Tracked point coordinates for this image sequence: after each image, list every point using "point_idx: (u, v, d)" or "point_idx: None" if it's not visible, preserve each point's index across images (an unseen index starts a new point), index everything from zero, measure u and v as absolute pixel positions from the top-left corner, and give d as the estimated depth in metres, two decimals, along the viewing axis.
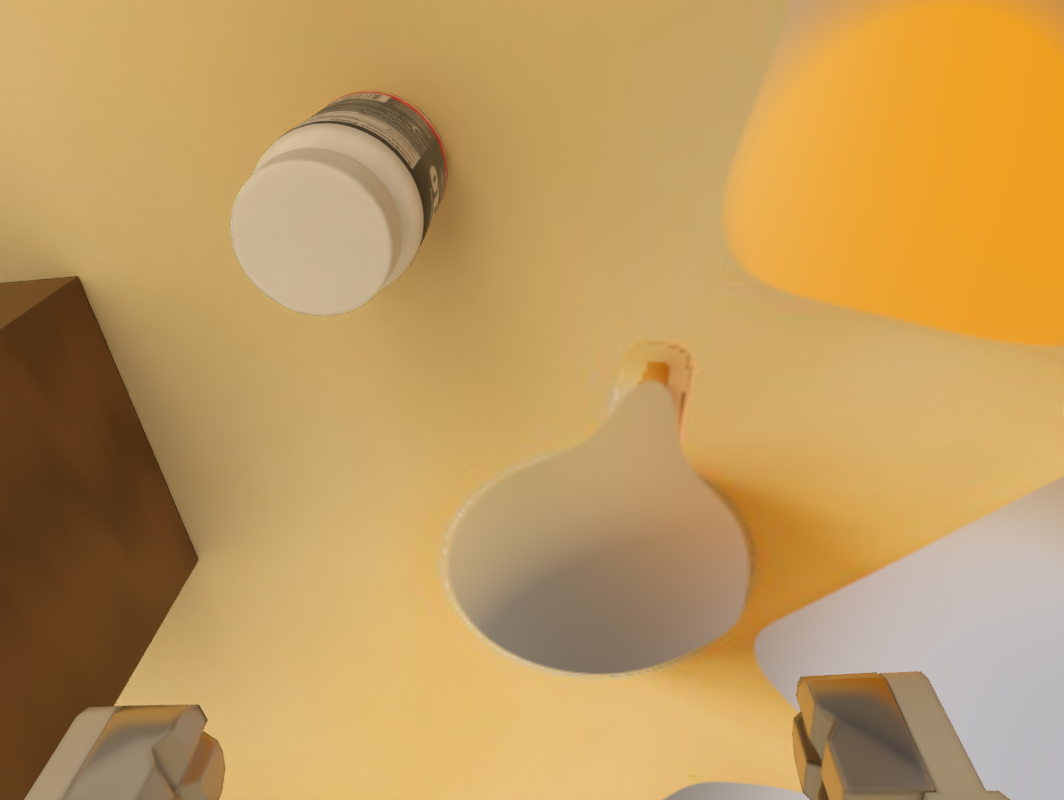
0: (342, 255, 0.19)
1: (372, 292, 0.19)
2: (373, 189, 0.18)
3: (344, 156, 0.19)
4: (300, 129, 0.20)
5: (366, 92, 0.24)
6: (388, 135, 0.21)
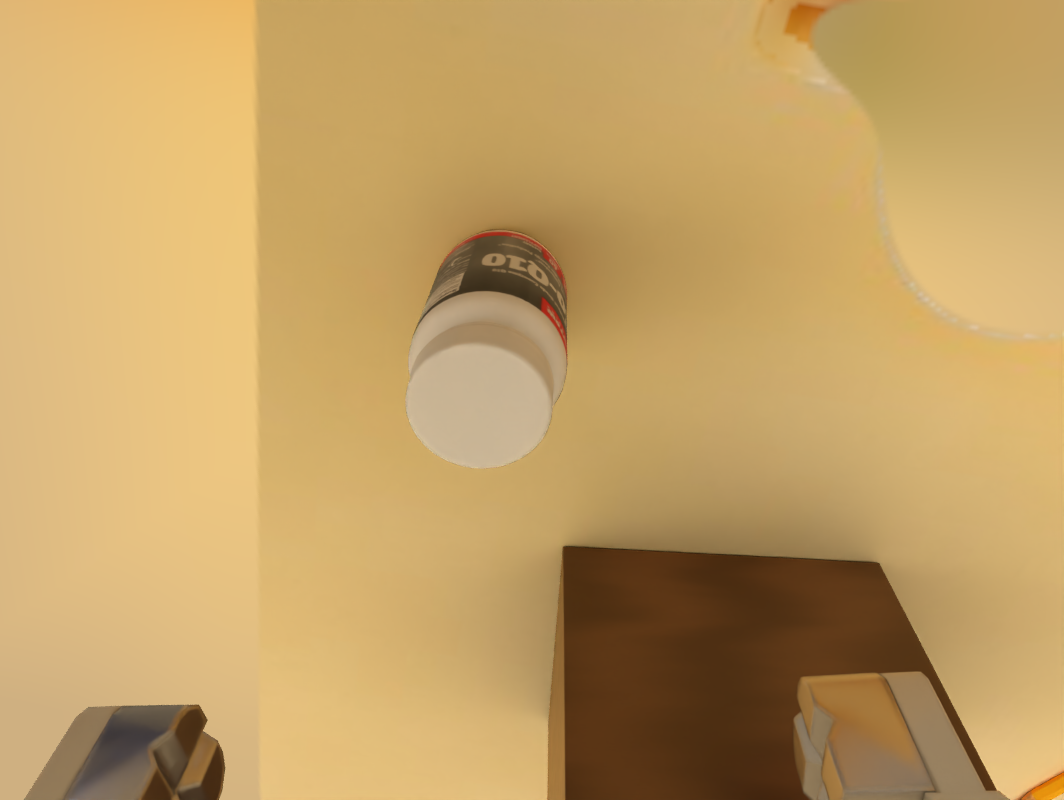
0: (493, 388, 0.20)
1: (532, 372, 0.20)
2: (440, 344, 0.20)
3: (417, 356, 0.21)
4: None
5: None
6: (432, 300, 0.23)
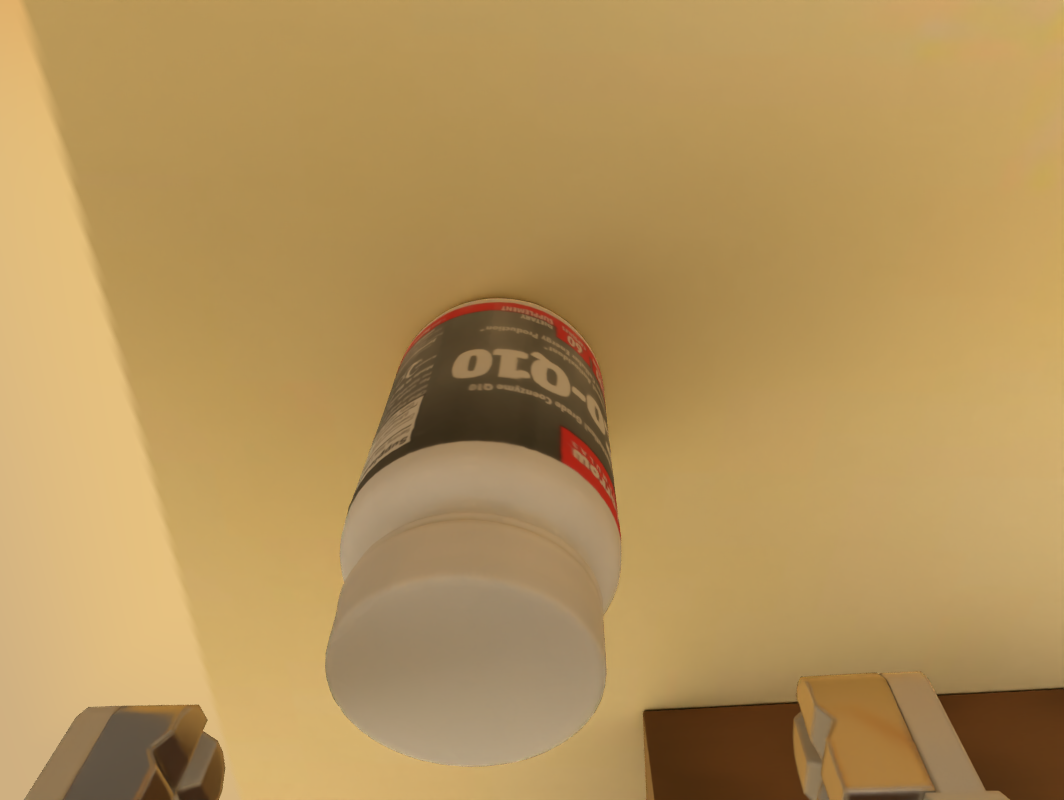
0: (485, 647, 0.10)
1: (558, 613, 0.10)
2: (372, 577, 0.10)
3: (342, 588, 0.11)
4: None
5: None
6: (372, 455, 0.13)
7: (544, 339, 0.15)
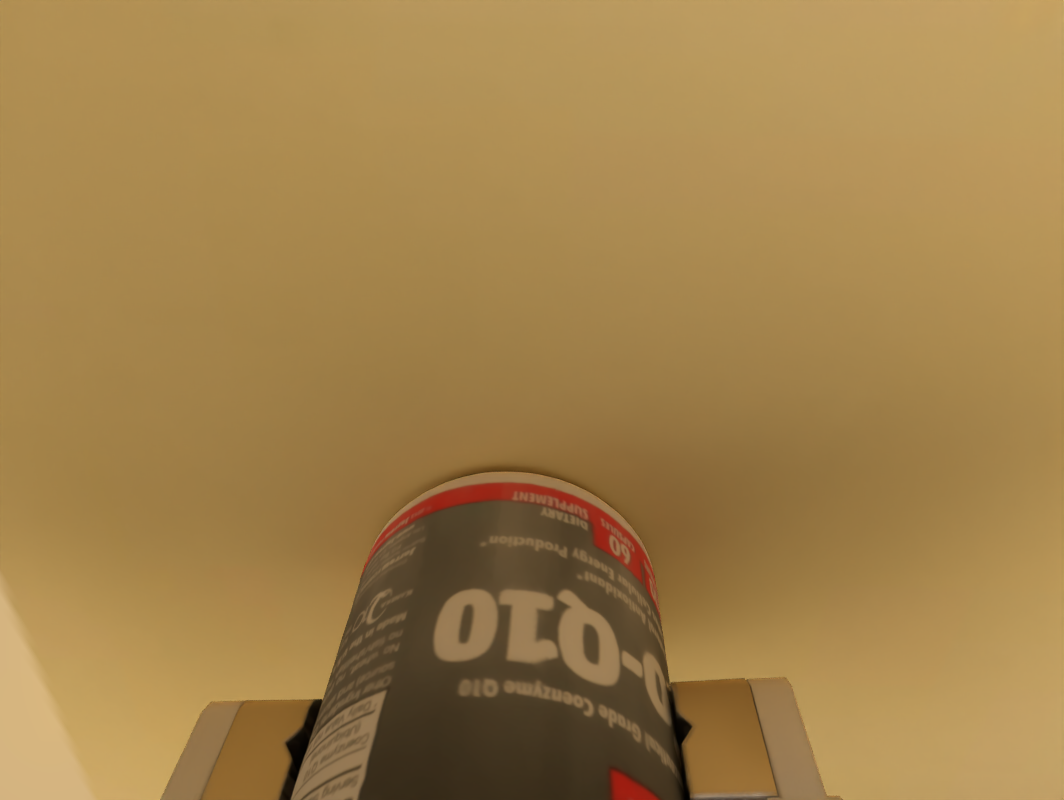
0: None
1: None
2: None
3: None
4: None
5: None
6: None
7: (576, 556, 0.10)
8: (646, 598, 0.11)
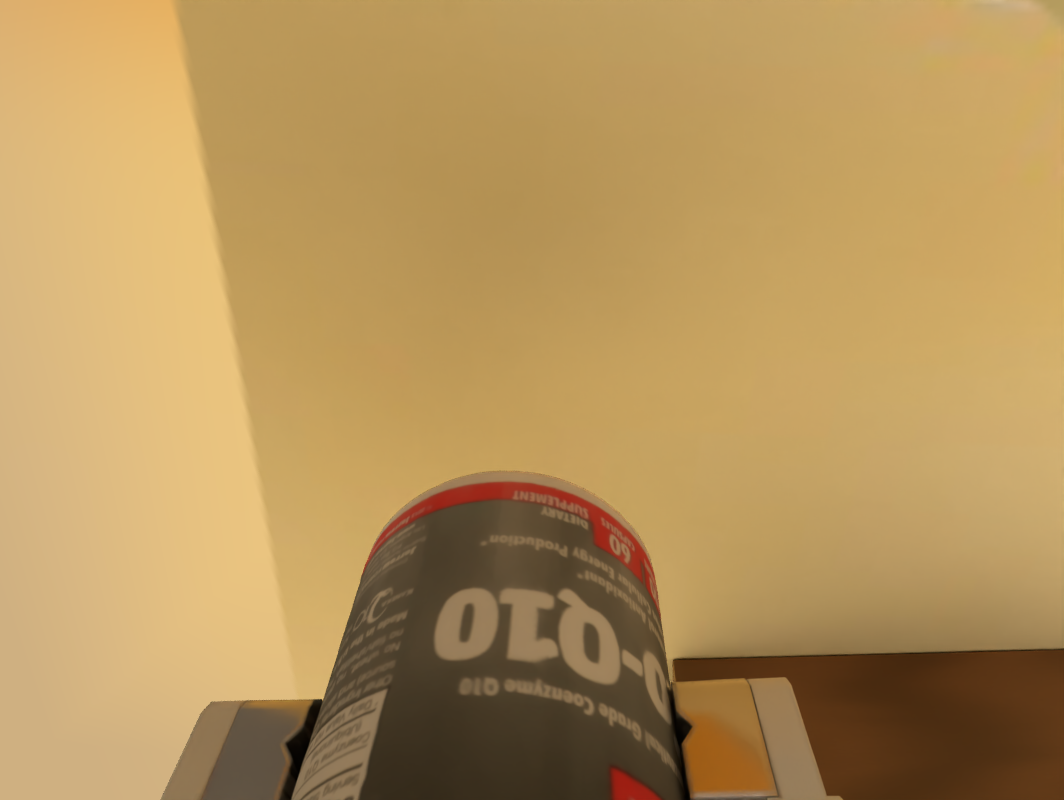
0: None
1: None
2: None
3: None
4: None
5: None
6: None
7: (577, 555, 0.10)
8: (646, 597, 0.11)
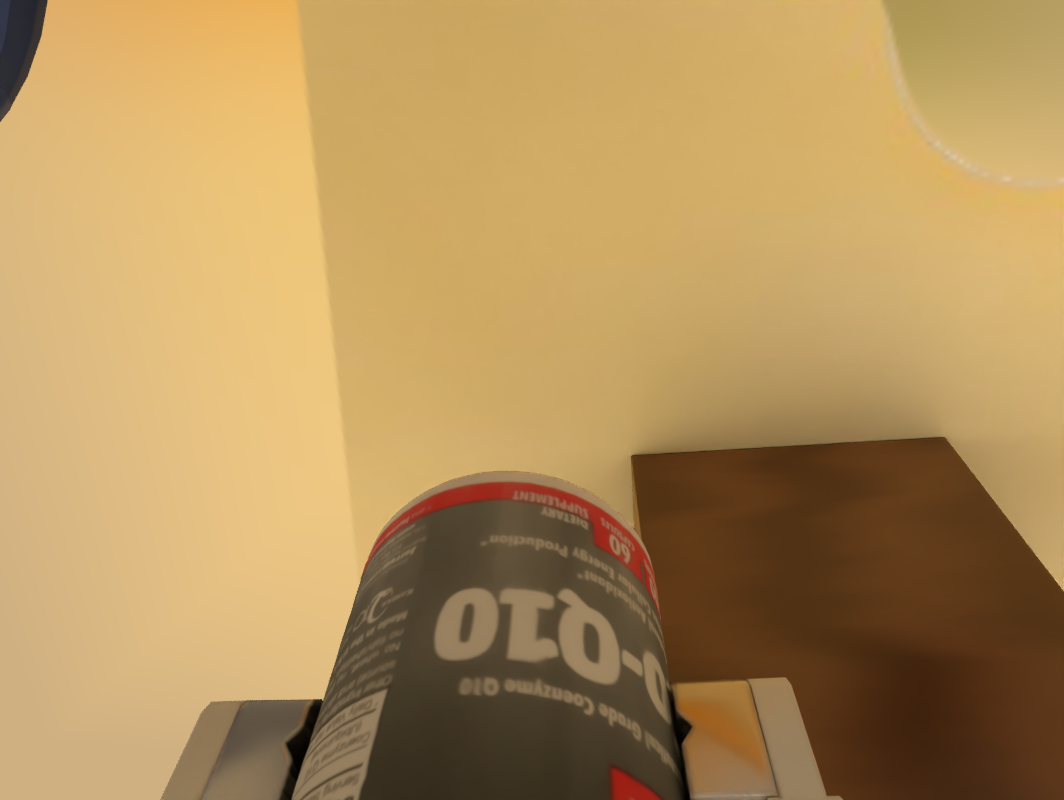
0: None
1: None
2: None
3: None
4: None
5: None
6: None
7: (577, 555, 0.10)
8: (646, 597, 0.11)
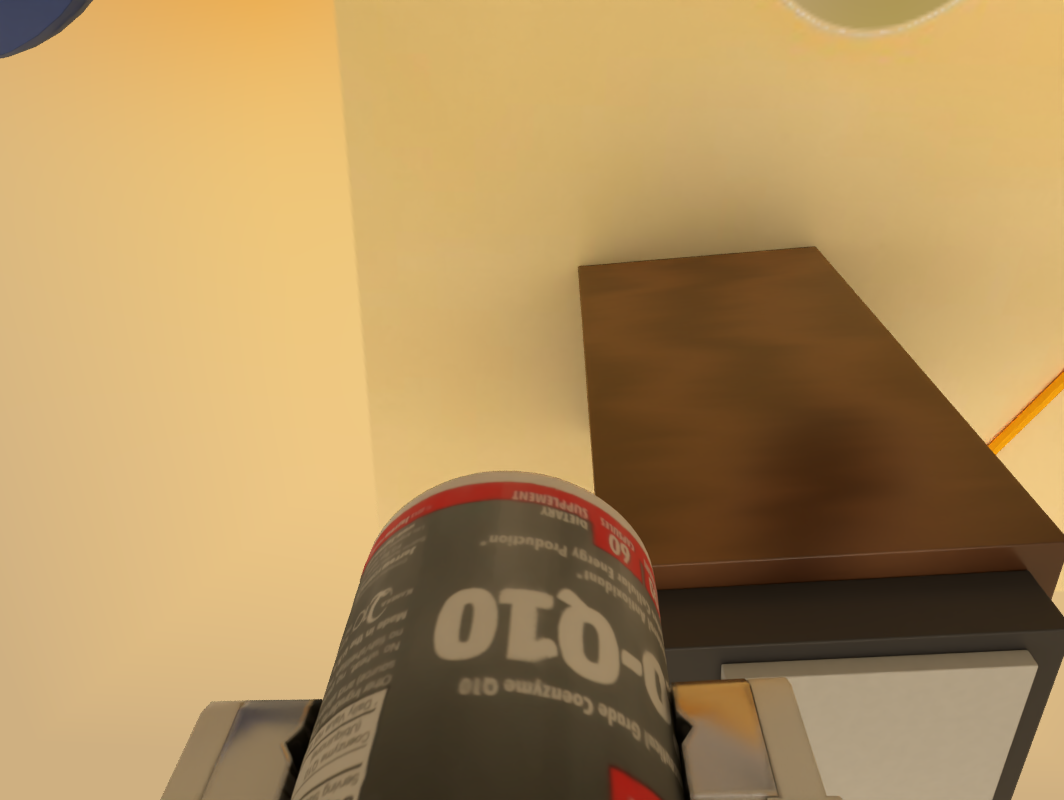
0: None
1: None
2: None
3: None
4: None
5: None
6: None
7: (576, 555, 0.10)
8: (646, 597, 0.11)
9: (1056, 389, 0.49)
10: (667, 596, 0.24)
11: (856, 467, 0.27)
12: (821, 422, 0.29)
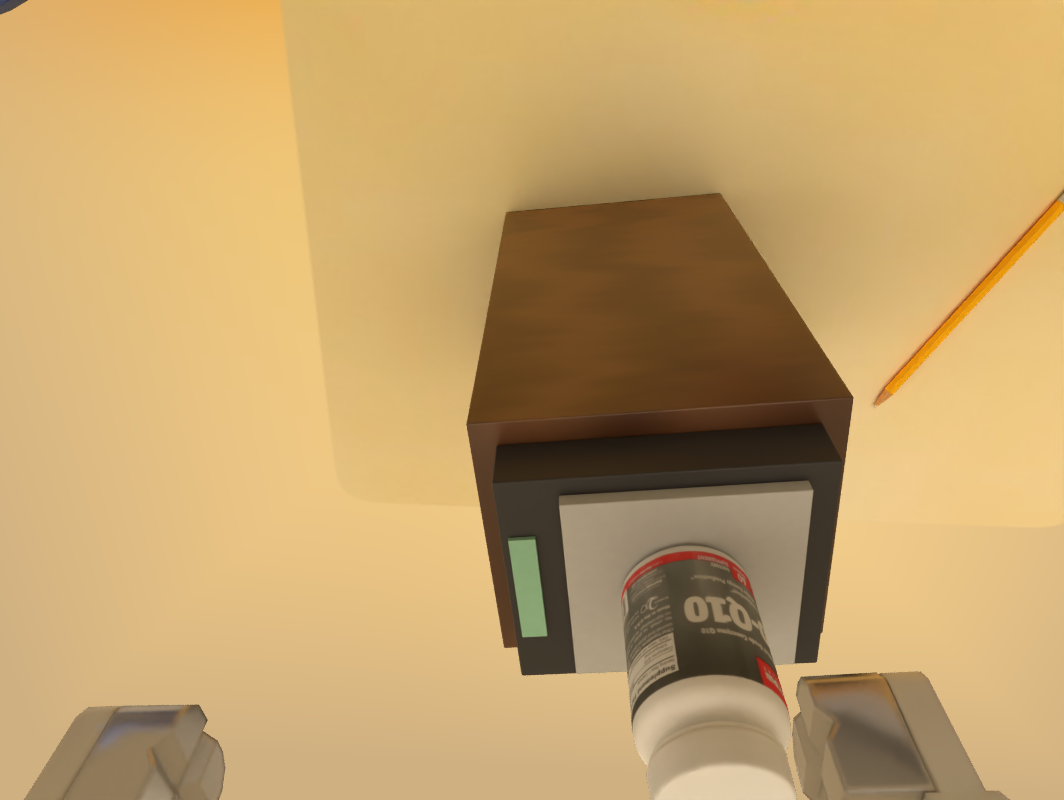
0: (739, 794, 0.21)
1: (779, 780, 0.20)
2: (683, 758, 0.21)
3: (655, 757, 0.22)
4: (635, 745, 0.23)
5: (621, 602, 0.28)
6: (648, 669, 0.23)
7: (728, 583, 0.26)
8: (753, 599, 0.26)
9: (948, 328, 0.53)
10: (522, 447, 0.28)
11: (698, 351, 0.31)
12: (680, 321, 0.34)
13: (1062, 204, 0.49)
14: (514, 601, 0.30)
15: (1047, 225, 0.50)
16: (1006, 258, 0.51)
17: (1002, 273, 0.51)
